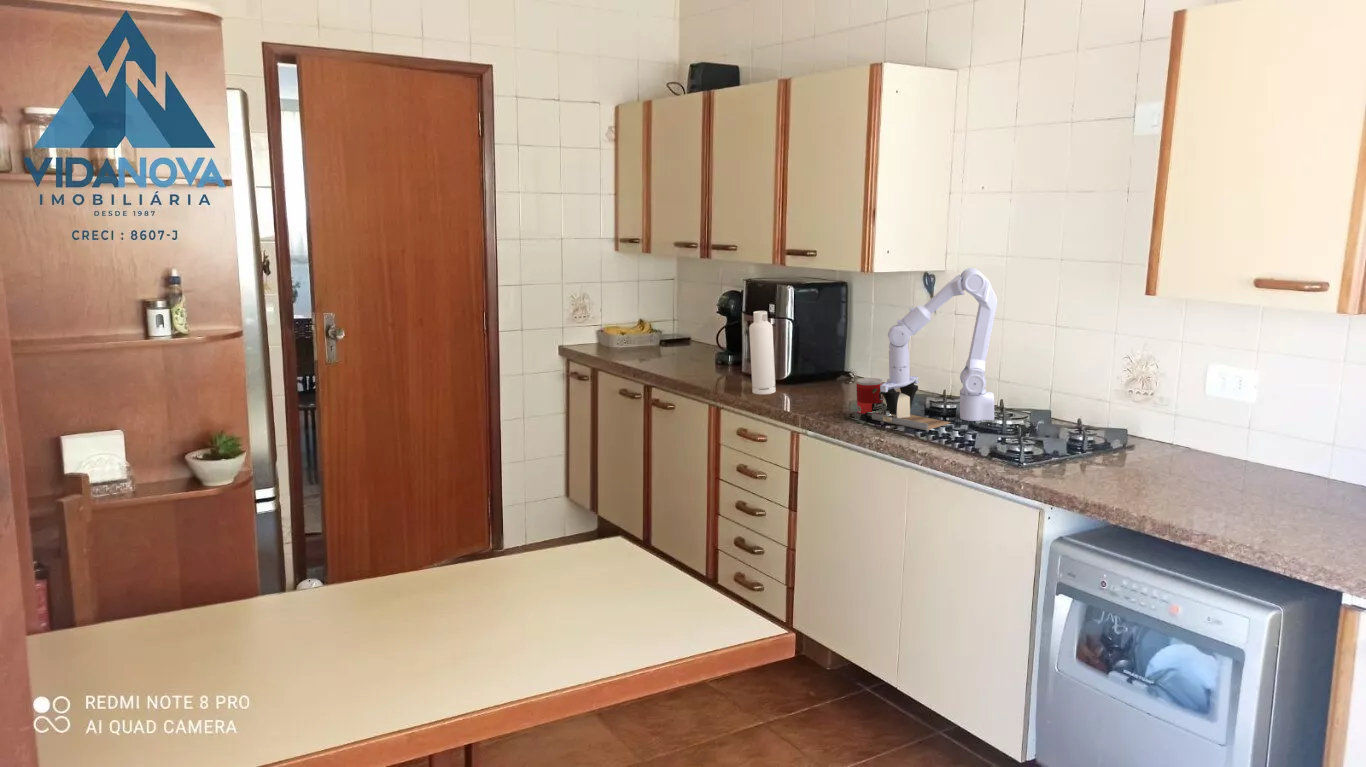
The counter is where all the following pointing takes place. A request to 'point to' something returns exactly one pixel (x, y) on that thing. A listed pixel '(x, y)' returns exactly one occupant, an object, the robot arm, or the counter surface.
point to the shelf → (911, 421)
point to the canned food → (869, 395)
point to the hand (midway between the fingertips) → (900, 411)
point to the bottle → (762, 354)
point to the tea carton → (903, 406)
